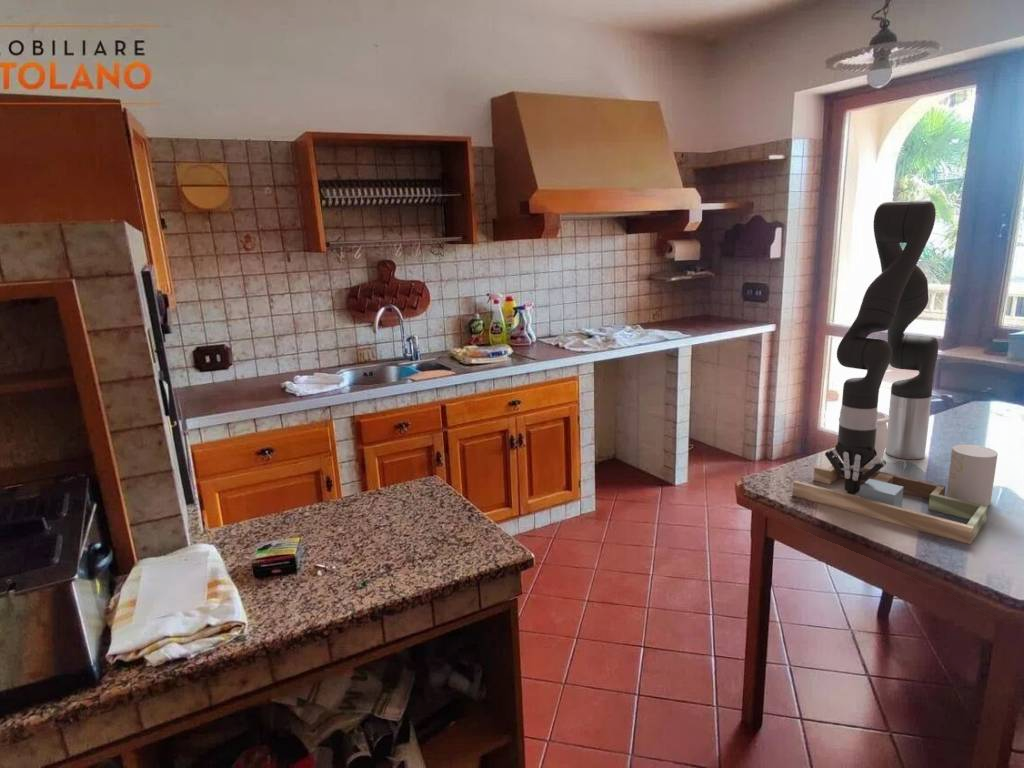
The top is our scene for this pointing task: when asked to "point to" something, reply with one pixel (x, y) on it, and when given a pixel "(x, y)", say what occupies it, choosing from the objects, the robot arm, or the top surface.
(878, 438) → the jar
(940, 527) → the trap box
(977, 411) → the top surface
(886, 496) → the block
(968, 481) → the white cylinder
